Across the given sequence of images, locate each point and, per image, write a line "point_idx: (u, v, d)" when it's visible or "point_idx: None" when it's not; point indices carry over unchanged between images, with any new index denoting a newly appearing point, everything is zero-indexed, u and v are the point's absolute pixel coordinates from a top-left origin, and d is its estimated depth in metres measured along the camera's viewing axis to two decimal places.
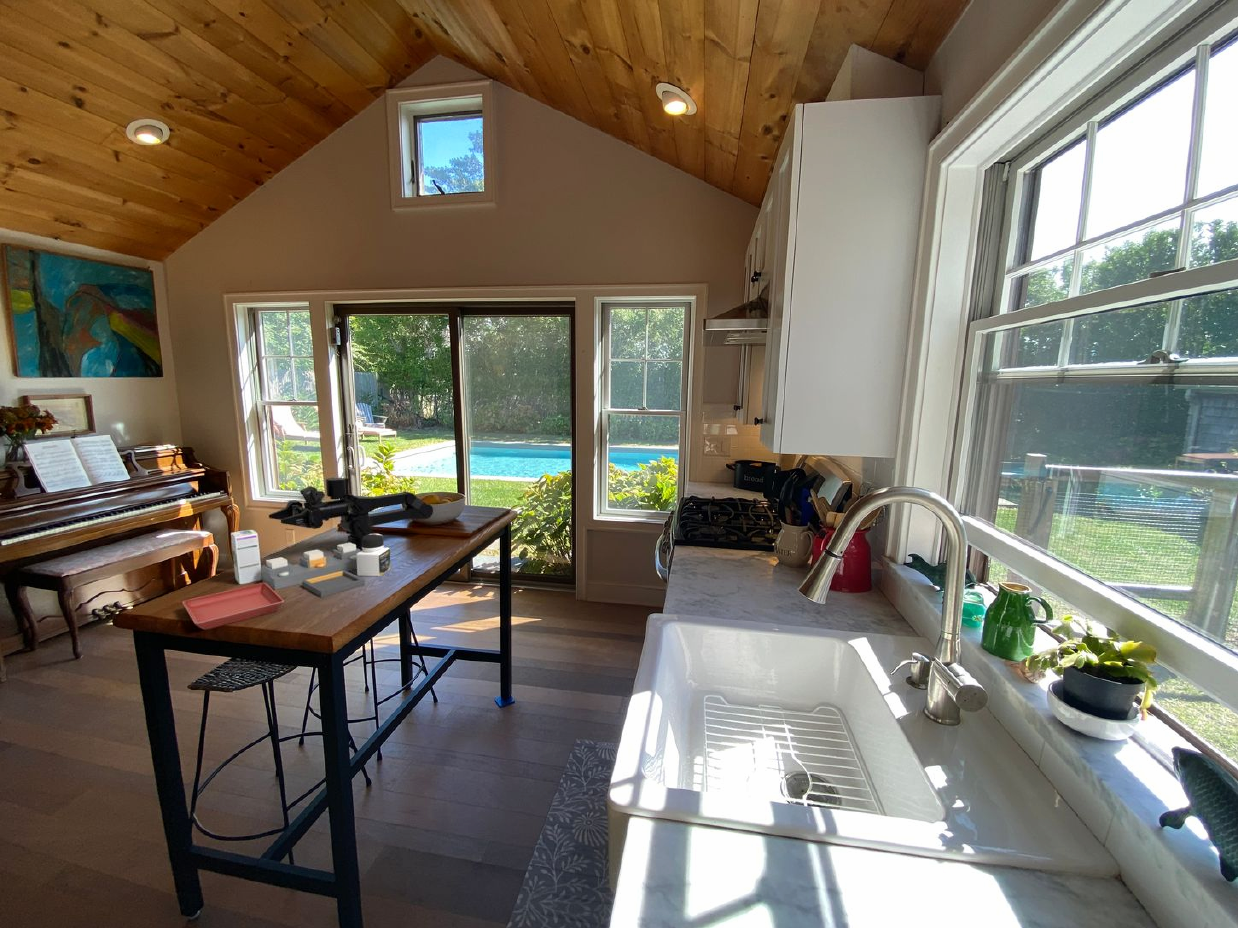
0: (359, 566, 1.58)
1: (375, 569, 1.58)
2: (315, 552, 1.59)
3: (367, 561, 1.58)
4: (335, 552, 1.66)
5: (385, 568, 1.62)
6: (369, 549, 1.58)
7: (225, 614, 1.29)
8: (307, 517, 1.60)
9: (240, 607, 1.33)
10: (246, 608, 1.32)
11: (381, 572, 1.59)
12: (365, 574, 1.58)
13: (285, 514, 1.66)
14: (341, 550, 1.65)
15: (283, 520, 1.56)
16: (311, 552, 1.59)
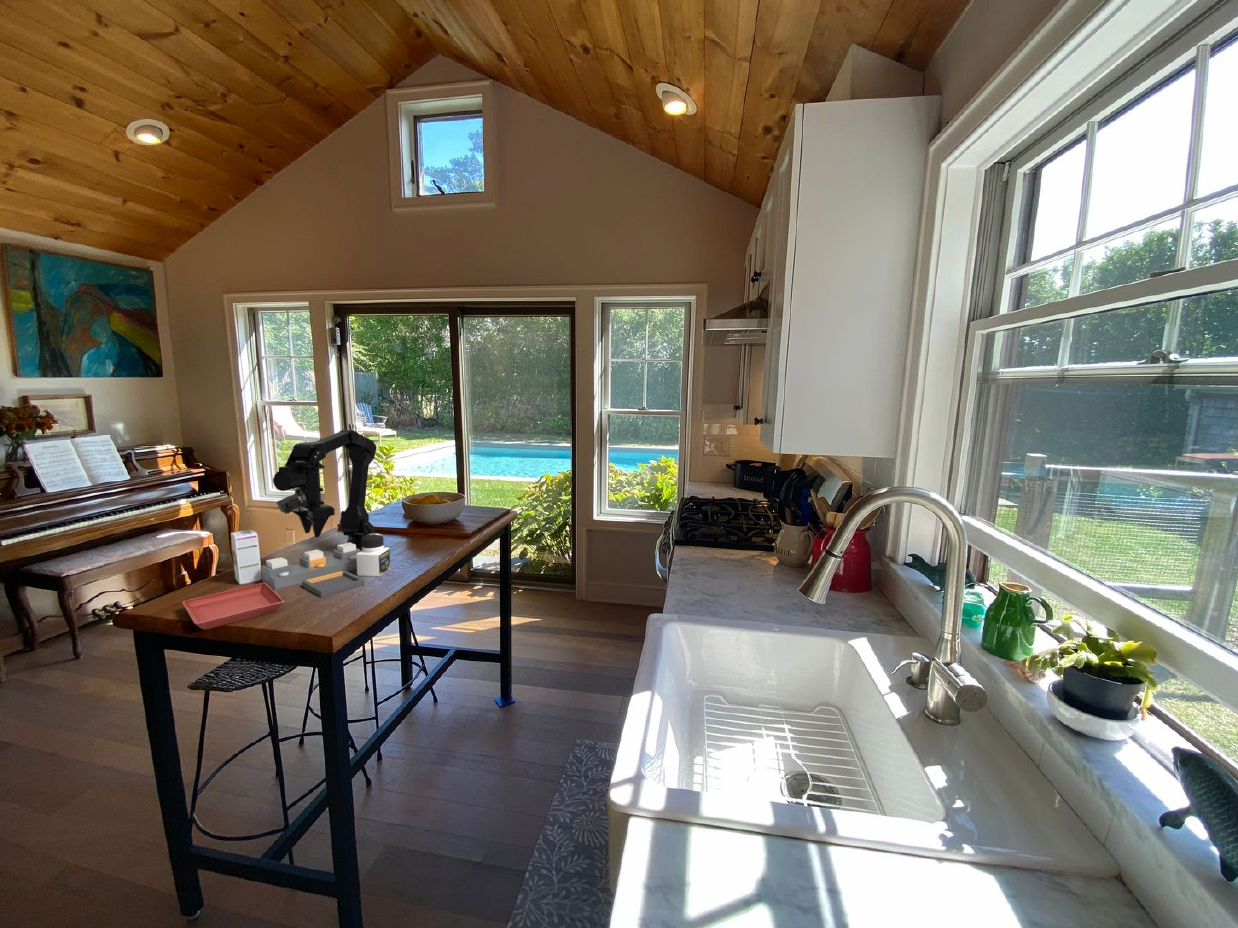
0: (359, 566, 1.58)
1: (375, 569, 1.58)
2: (315, 552, 1.59)
3: (367, 561, 1.58)
4: (335, 552, 1.66)
5: (385, 568, 1.62)
6: (369, 549, 1.58)
7: (225, 614, 1.29)
8: None
9: (240, 607, 1.33)
10: (246, 608, 1.32)
11: (381, 572, 1.59)
12: (365, 574, 1.58)
13: (306, 517, 1.60)
14: (341, 550, 1.65)
15: (316, 535, 1.56)
16: (311, 552, 1.59)
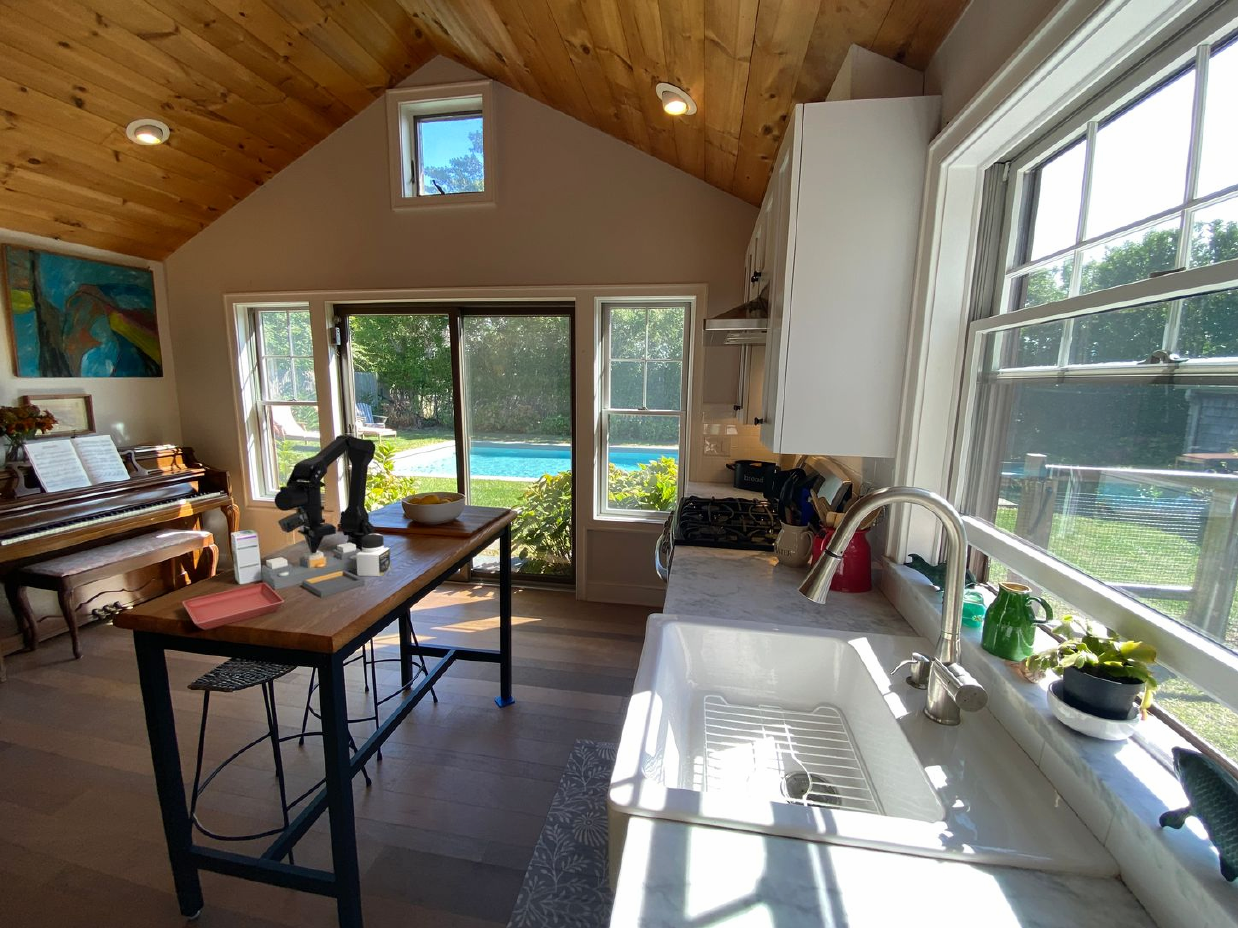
0: (359, 566, 1.58)
1: (375, 569, 1.58)
2: (316, 553, 1.59)
3: (367, 561, 1.58)
4: (335, 552, 1.66)
5: (385, 568, 1.62)
6: (369, 549, 1.58)
7: (225, 614, 1.29)
8: None
9: (240, 607, 1.33)
10: (246, 608, 1.32)
11: (381, 572, 1.59)
12: (365, 574, 1.58)
13: None
14: (341, 550, 1.65)
15: (313, 551, 1.59)
16: (311, 553, 1.59)
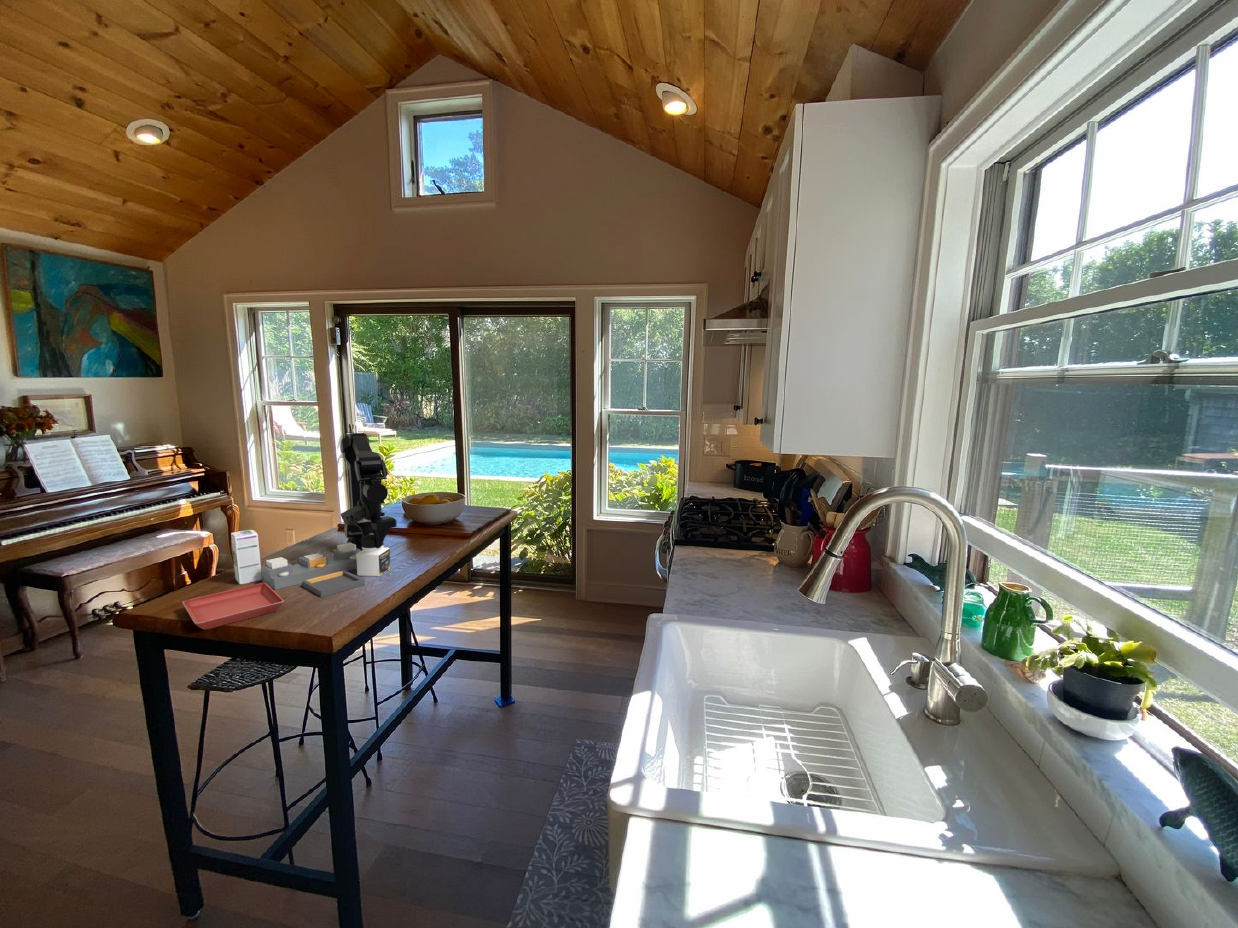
0: (359, 566, 1.58)
1: (375, 569, 1.58)
2: (316, 556, 1.59)
3: (367, 561, 1.58)
4: (335, 552, 1.66)
5: (385, 567, 1.62)
6: (369, 549, 1.58)
7: (225, 614, 1.29)
8: None
9: (240, 607, 1.33)
10: (246, 608, 1.32)
11: (381, 572, 1.59)
12: (365, 574, 1.58)
13: (367, 528, 1.62)
14: (341, 550, 1.65)
15: (378, 546, 1.58)
16: (311, 556, 1.59)
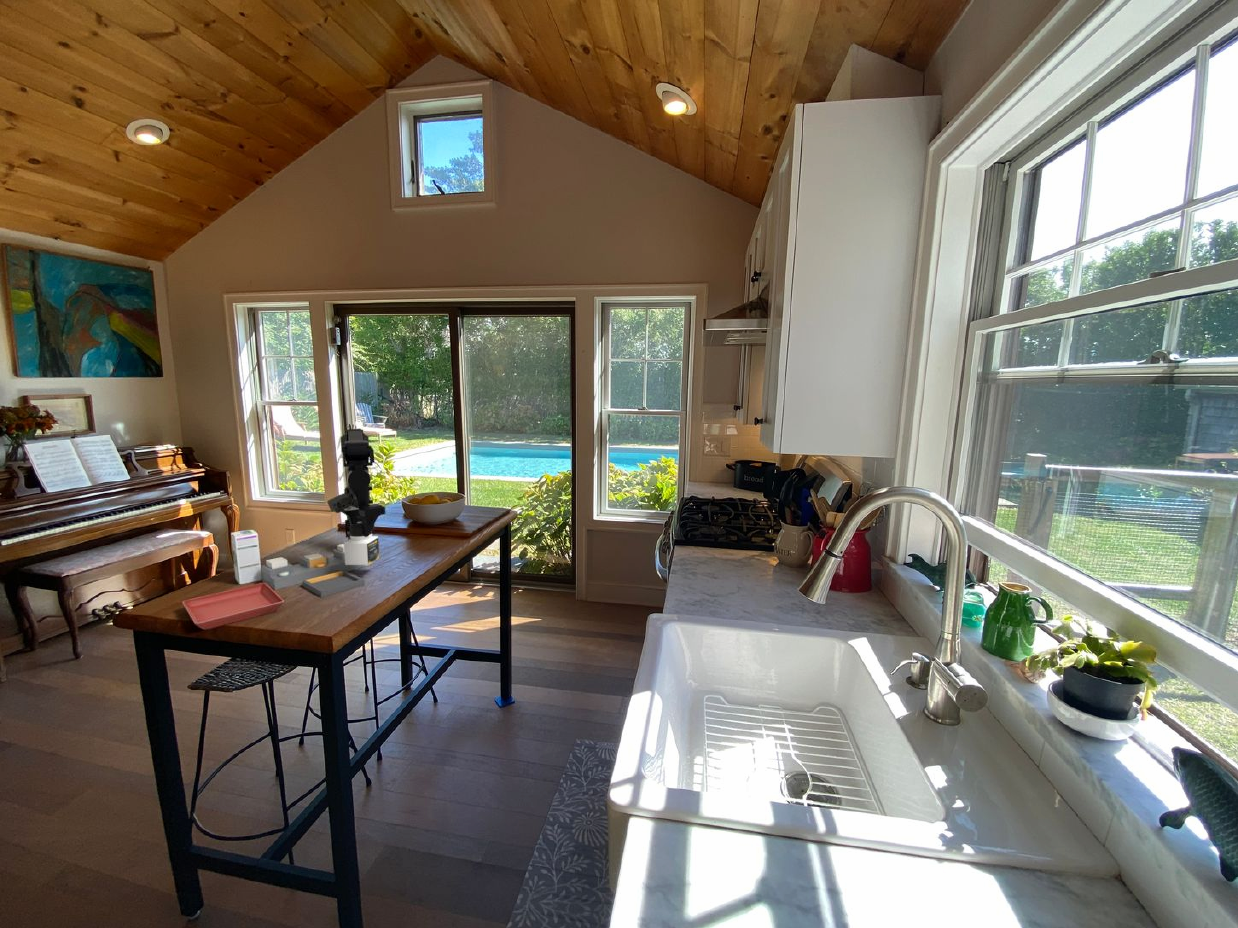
0: (347, 555, 1.54)
1: (364, 558, 1.54)
2: (316, 556, 1.59)
3: (355, 550, 1.54)
4: (335, 552, 1.66)
5: (374, 557, 1.58)
6: (357, 537, 1.54)
7: (225, 614, 1.29)
8: None
9: (240, 607, 1.33)
10: (246, 609, 1.32)
11: (369, 561, 1.55)
12: (353, 563, 1.54)
13: (355, 516, 1.58)
14: (341, 550, 1.65)
15: (366, 534, 1.54)
16: (311, 556, 1.59)
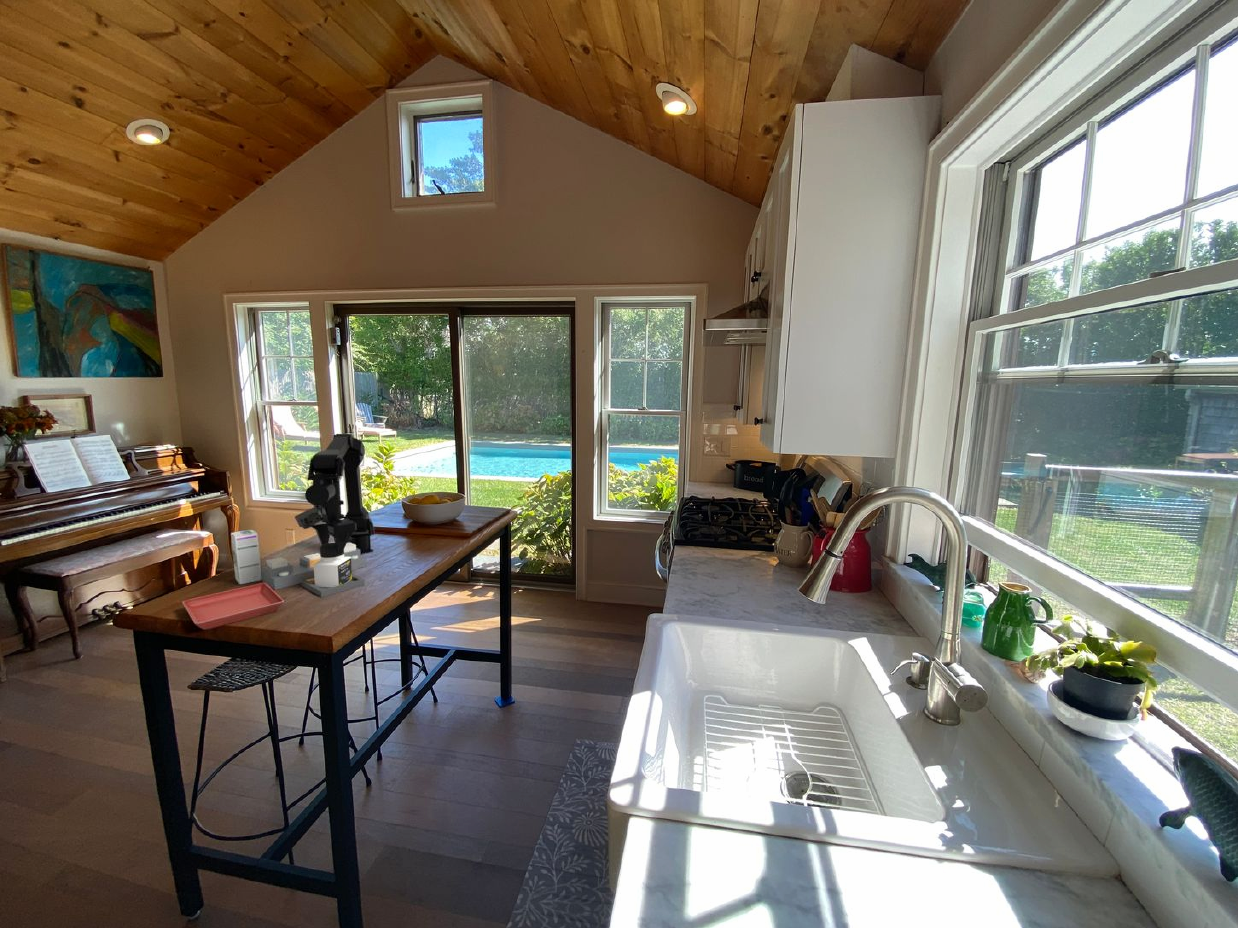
0: (317, 577, 1.47)
1: (334, 580, 1.47)
2: (316, 556, 1.59)
3: (325, 571, 1.46)
4: None
5: (346, 578, 1.51)
6: (327, 559, 1.46)
7: (225, 614, 1.29)
8: None
9: (240, 607, 1.33)
10: (246, 609, 1.32)
11: (340, 584, 1.48)
12: (323, 586, 1.47)
13: (324, 531, 1.52)
14: None
15: (339, 552, 1.46)
16: (311, 556, 1.59)
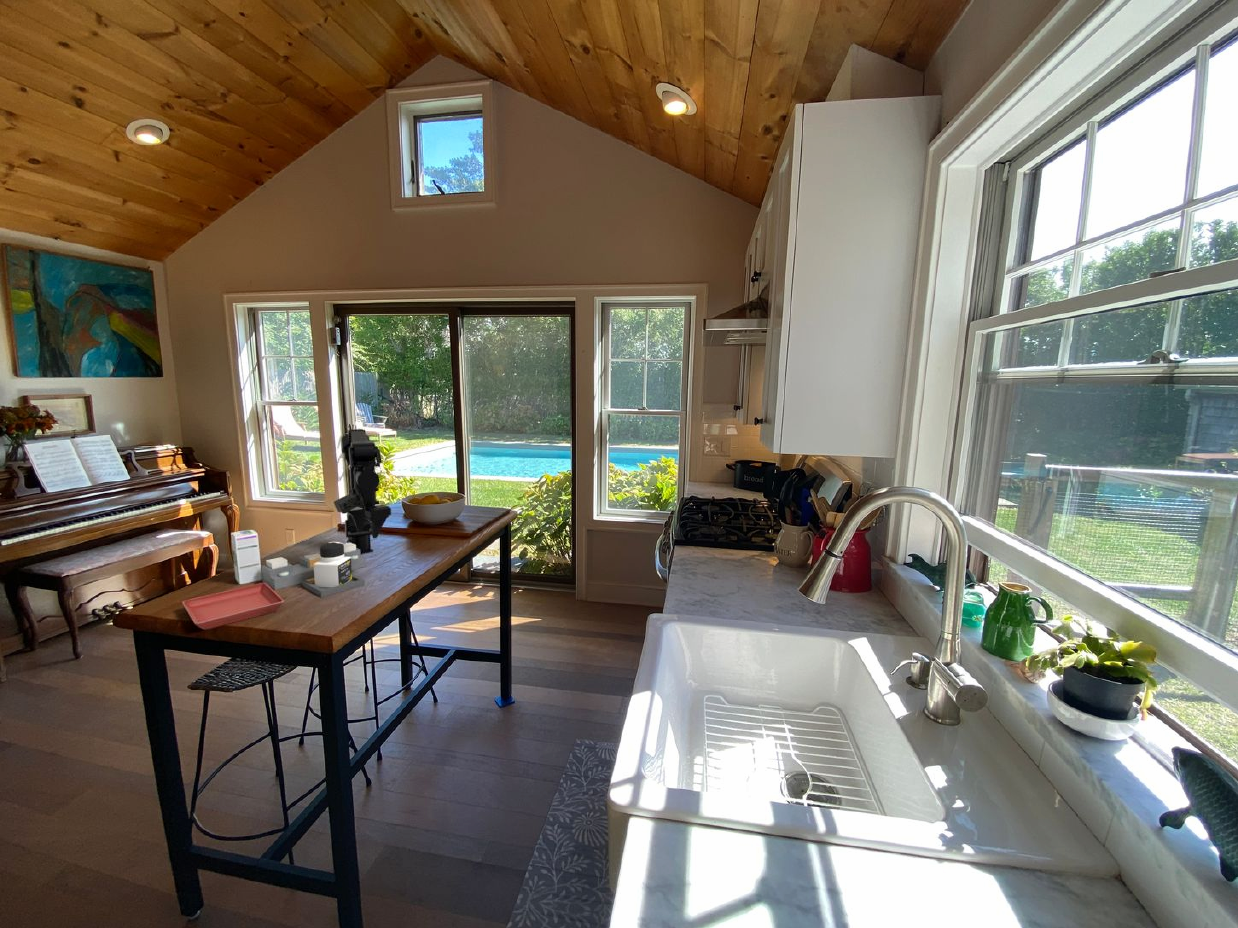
0: (317, 577, 1.47)
1: (334, 580, 1.47)
2: (316, 556, 1.59)
3: (325, 572, 1.46)
4: None
5: (346, 578, 1.51)
6: (327, 559, 1.46)
7: (225, 614, 1.29)
8: None
9: (240, 607, 1.33)
10: (246, 608, 1.32)
11: (340, 584, 1.48)
12: (323, 586, 1.47)
13: (359, 516, 1.60)
14: None
15: (374, 536, 1.54)
16: (311, 556, 1.59)
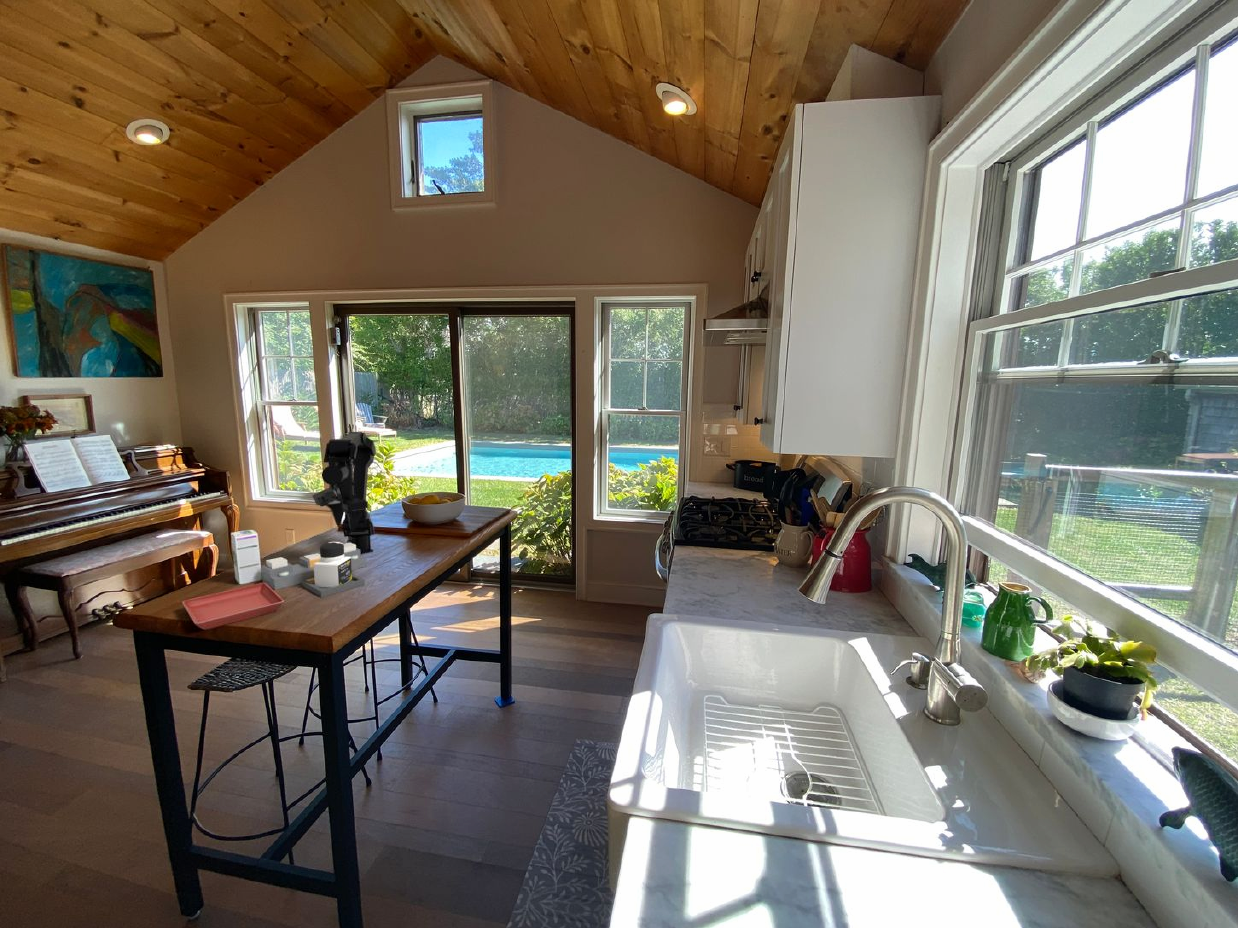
0: (317, 577, 1.47)
1: (334, 580, 1.47)
2: (316, 556, 1.59)
3: (325, 572, 1.46)
4: None
5: (346, 578, 1.51)
6: (327, 559, 1.46)
7: (225, 614, 1.29)
8: None
9: (240, 607, 1.33)
10: (246, 609, 1.32)
11: (340, 584, 1.48)
12: (323, 586, 1.47)
13: (337, 510, 1.67)
14: None
15: (352, 528, 1.61)
16: (311, 556, 1.59)
